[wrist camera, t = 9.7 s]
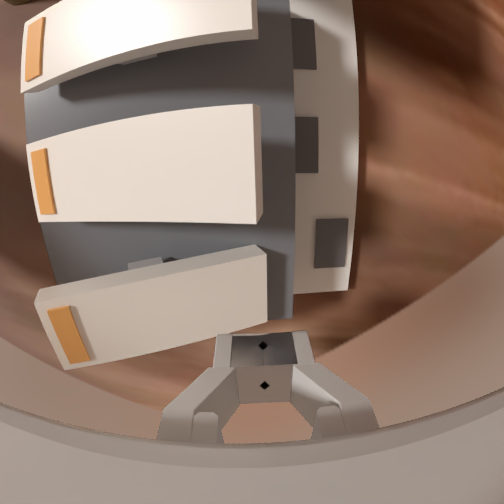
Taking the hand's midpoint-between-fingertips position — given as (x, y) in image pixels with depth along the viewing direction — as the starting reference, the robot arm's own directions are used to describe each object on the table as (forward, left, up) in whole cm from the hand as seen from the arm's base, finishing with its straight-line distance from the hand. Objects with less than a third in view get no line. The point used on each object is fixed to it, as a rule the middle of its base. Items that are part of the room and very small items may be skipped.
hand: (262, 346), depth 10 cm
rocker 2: (+4, -6, -4) cm, 9 cm away
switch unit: (+4, -6, -10) cm, 12 cm away
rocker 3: (+5, 0, -4) cm, 7 cm away
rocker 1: (+4, -12, -4) cm, 13 cm away
